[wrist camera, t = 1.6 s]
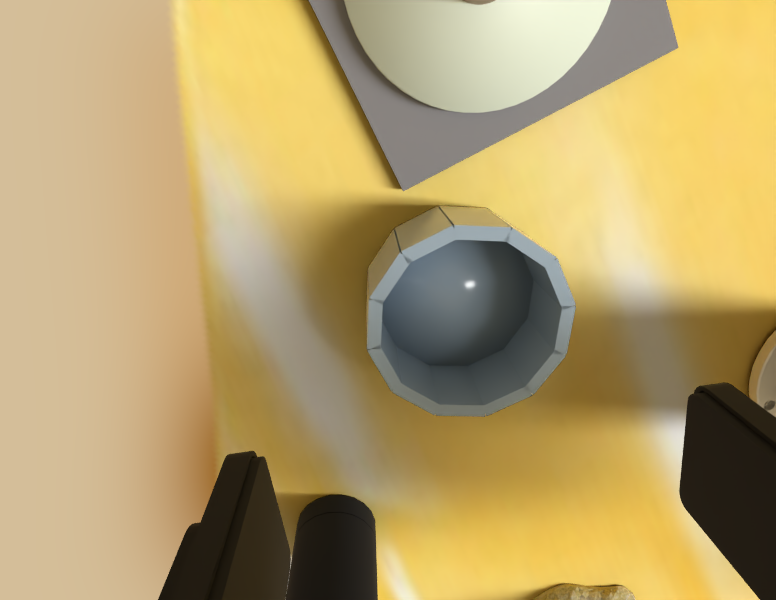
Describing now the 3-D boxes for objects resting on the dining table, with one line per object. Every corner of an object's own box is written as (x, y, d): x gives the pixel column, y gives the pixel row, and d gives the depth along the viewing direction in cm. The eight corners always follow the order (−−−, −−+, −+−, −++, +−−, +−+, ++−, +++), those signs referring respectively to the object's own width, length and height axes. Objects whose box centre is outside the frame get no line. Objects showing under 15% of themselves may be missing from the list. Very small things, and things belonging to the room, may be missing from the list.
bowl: (499, 173, 32) (528, 187, 27) (563, 325, 36) (600, 364, 31) (335, 258, 34) (330, 287, 28) (413, 395, 38) (422, 445, 32)
